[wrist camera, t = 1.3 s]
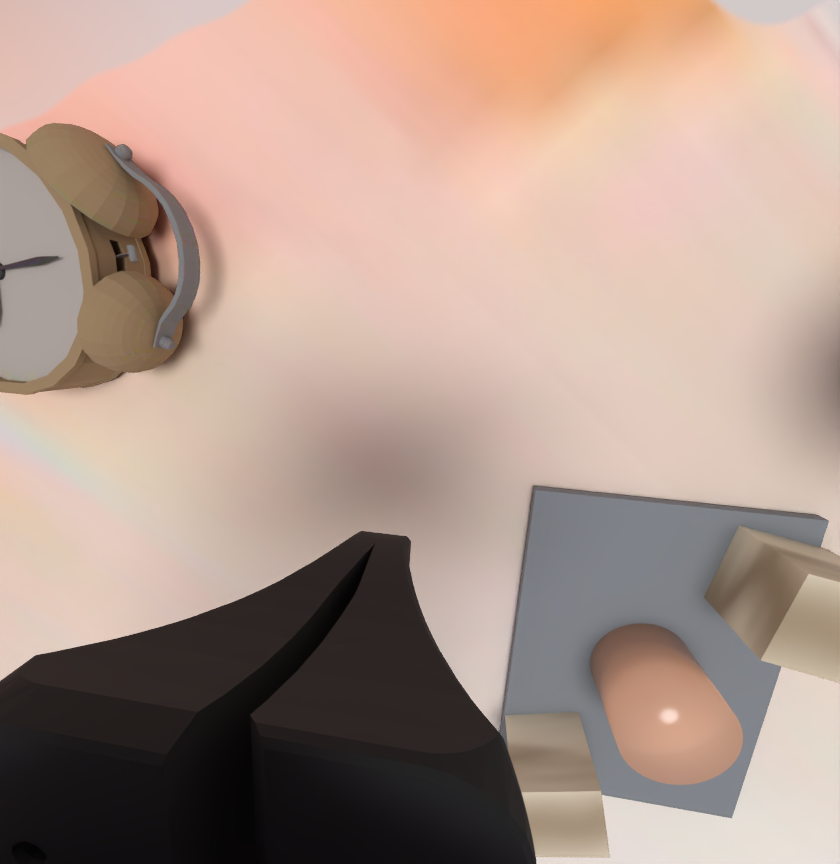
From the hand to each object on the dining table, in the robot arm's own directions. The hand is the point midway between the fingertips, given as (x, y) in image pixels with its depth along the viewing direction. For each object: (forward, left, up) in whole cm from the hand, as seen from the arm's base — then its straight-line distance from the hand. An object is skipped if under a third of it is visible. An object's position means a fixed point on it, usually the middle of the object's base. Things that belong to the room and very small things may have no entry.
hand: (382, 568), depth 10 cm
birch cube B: (-4, -16, -10) cm, 20 cm away
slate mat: (-10, -12, -10) cm, 19 cm away
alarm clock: (+8, +18, -11) cm, 22 cm away
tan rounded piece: (-10, -12, -10) cm, 18 cm away
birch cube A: (-16, -8, -10) cm, 20 cm away
